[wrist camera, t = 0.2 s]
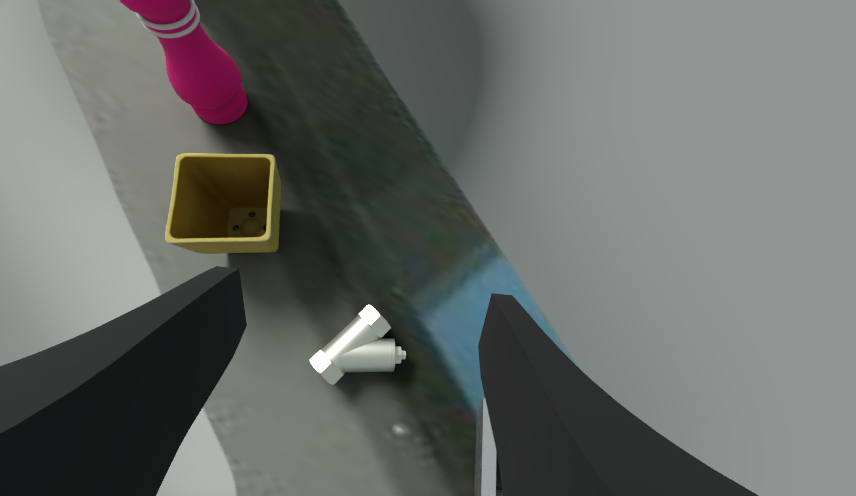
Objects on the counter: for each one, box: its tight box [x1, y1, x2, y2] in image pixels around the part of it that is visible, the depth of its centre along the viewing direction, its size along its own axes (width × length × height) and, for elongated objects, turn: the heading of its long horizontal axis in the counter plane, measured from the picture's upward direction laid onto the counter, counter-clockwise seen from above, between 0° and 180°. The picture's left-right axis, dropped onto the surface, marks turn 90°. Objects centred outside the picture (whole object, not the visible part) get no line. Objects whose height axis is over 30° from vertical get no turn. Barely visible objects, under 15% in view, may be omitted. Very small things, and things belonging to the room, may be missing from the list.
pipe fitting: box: [309, 305, 406, 386], centre depth 39 cm, size 8×4×7 cm
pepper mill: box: [120, 0, 248, 125], centre depth 38 cm, size 7×7×20 cm
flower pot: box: [165, 153, 282, 254], centre depth 39 cm, size 9×9×9 cm
